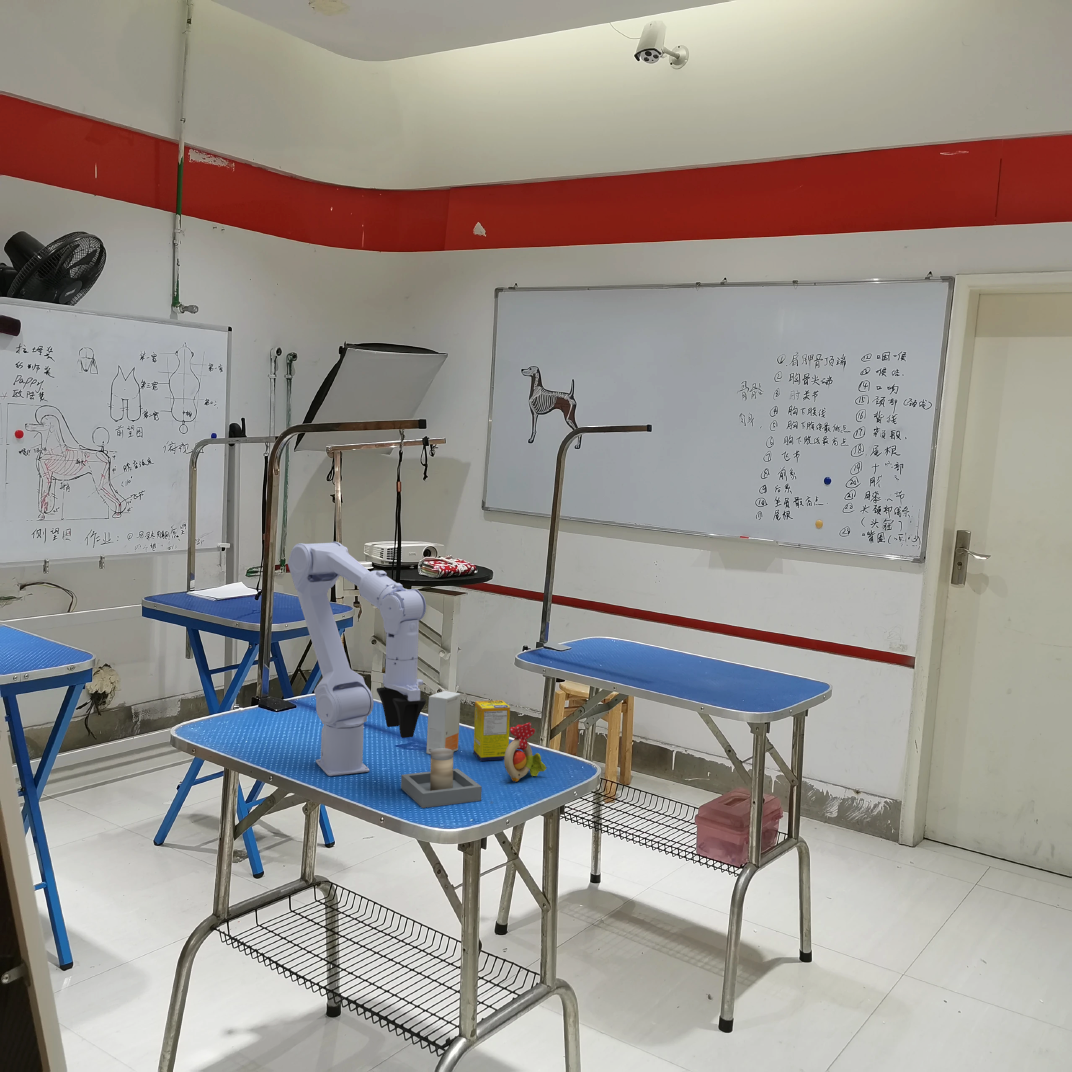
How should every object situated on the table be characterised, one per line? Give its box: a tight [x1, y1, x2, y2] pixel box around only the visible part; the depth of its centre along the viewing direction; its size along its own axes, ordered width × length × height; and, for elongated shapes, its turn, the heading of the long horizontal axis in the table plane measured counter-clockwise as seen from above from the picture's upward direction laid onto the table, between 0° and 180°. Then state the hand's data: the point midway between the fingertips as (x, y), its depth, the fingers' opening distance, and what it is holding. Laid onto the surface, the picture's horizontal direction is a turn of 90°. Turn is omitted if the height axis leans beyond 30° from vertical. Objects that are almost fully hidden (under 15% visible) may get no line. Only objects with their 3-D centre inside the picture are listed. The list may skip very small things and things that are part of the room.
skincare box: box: [425, 690, 462, 755], centre depth 205 cm, size 6×4×12 cm
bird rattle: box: [503, 721, 548, 783], centre depth 190 cm, size 6×11×9 cm
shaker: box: [429, 748, 454, 791], centre depth 179 cm, size 4×4×7 cm
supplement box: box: [473, 699, 511, 762], centre depth 203 cm, size 6×6×11 cm
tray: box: [400, 768, 483, 809], centre depth 179 cm, size 11×11×2 cm
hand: (399, 731), depth 181 cm, fingers open, 7 cm apart
